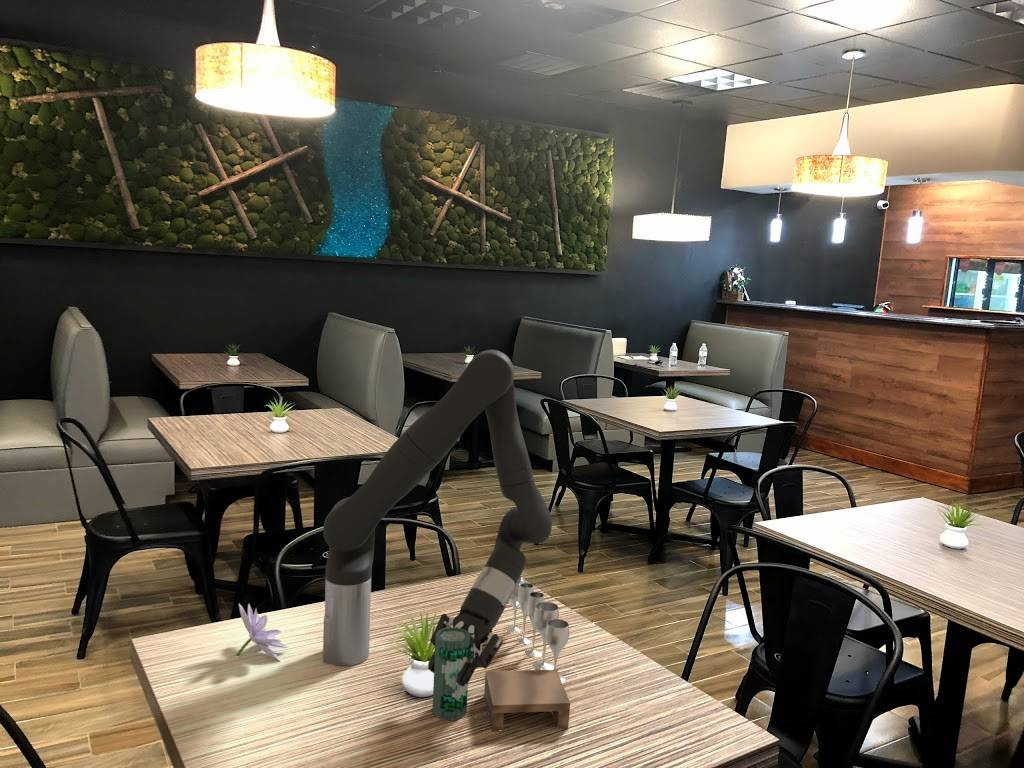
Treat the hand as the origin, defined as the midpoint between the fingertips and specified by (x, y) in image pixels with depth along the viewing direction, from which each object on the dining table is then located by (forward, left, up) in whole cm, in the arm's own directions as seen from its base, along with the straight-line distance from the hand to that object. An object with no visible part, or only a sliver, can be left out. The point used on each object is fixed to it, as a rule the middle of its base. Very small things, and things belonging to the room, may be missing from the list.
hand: (445, 677), depth 146 cm
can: (+1, +1, -8) cm, 8 cm away
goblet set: (+21, +23, -8) cm, 32 cm away
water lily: (-36, +25, -8) cm, 44 cm away
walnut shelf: (+15, 0, -7) cm, 17 cm away
